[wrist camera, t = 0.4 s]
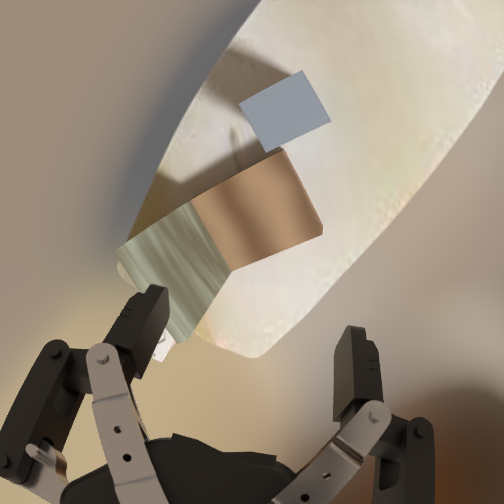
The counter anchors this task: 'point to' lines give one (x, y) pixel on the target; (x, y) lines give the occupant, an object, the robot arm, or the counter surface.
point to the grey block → (284, 111)
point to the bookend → (220, 238)
